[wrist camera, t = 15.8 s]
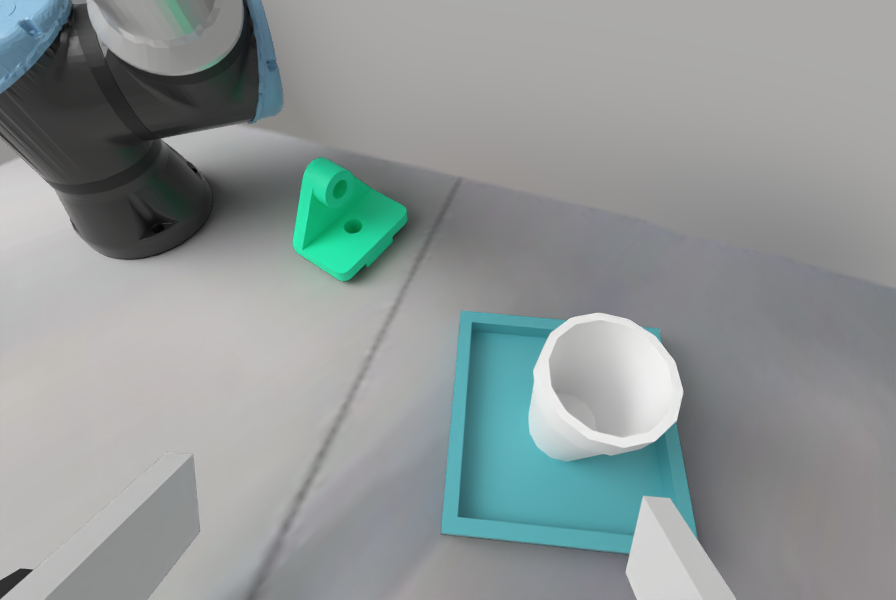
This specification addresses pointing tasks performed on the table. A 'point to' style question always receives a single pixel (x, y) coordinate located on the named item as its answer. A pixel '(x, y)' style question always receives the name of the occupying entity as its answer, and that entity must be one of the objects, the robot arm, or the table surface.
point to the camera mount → (343, 220)
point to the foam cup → (602, 389)
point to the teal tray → (539, 454)
